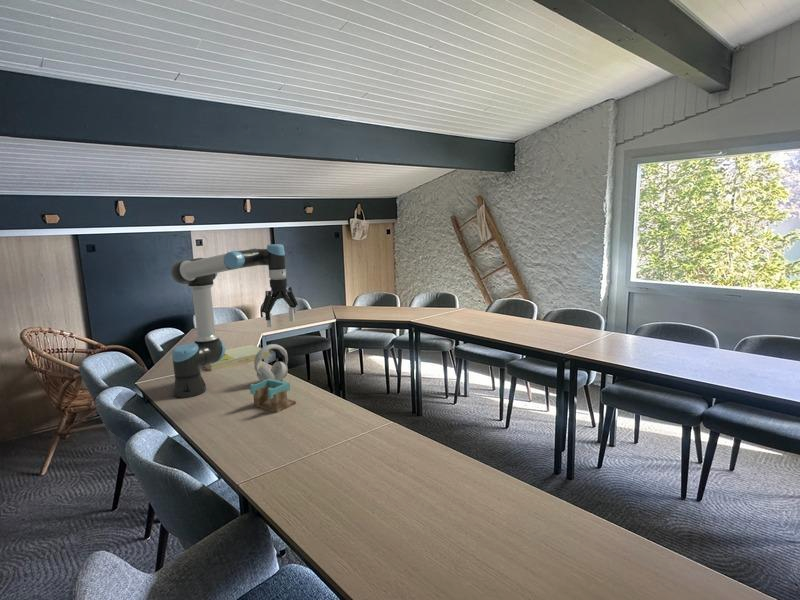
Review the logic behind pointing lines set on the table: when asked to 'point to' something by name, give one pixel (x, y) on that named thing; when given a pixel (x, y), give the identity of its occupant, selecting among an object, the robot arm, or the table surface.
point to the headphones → (277, 369)
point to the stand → (272, 400)
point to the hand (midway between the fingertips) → (281, 324)
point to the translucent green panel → (237, 357)
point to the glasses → (272, 384)
